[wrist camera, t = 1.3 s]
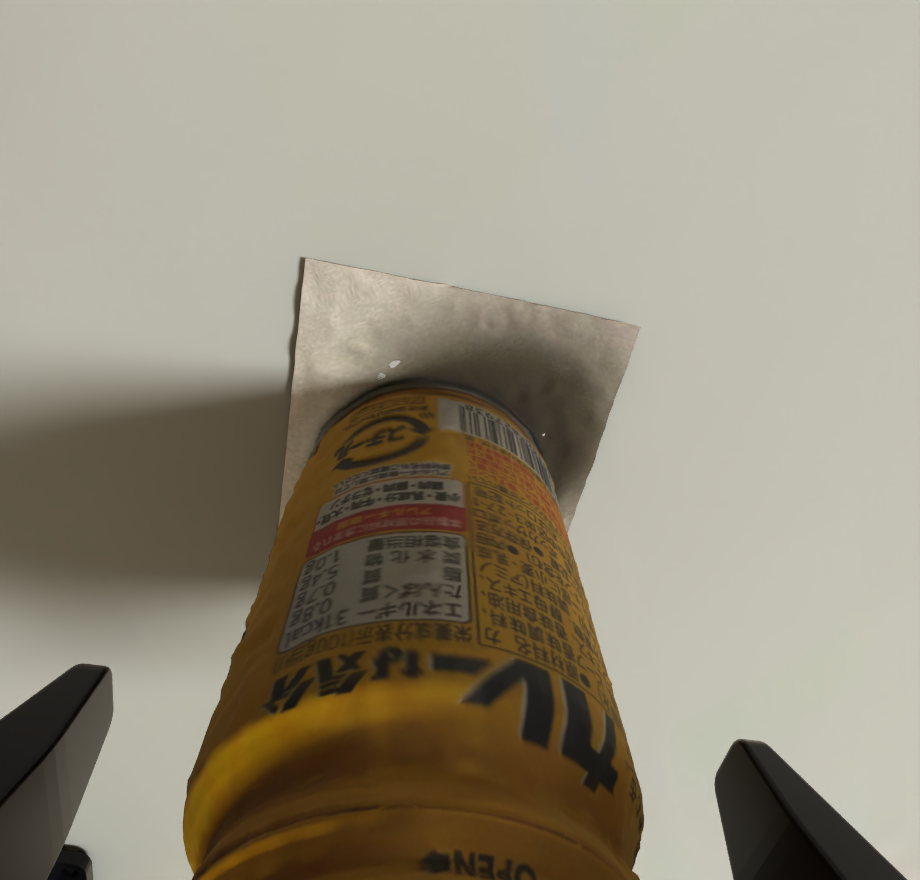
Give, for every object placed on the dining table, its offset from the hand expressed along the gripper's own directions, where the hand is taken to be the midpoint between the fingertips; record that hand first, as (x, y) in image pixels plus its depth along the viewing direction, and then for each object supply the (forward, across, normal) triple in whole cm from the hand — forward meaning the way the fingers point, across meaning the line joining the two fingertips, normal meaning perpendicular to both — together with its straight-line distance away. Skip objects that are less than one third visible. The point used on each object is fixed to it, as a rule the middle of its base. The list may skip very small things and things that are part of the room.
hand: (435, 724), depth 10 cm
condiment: (+8, 0, 0) cm, 8 cm away
